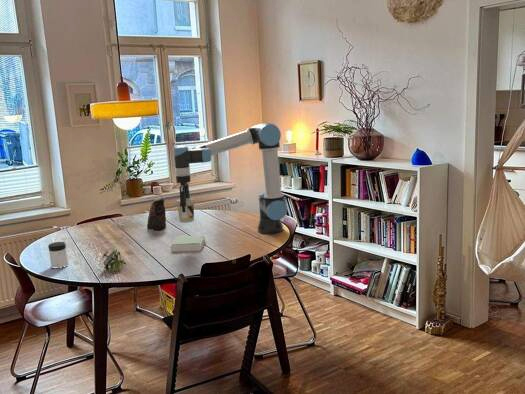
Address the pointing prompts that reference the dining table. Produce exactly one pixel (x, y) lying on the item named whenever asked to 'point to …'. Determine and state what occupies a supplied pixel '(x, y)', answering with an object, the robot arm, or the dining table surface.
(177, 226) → the dining table surface
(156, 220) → the owl
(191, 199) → the coffee cup
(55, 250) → the jar
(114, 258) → the small green plant
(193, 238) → the plinth
